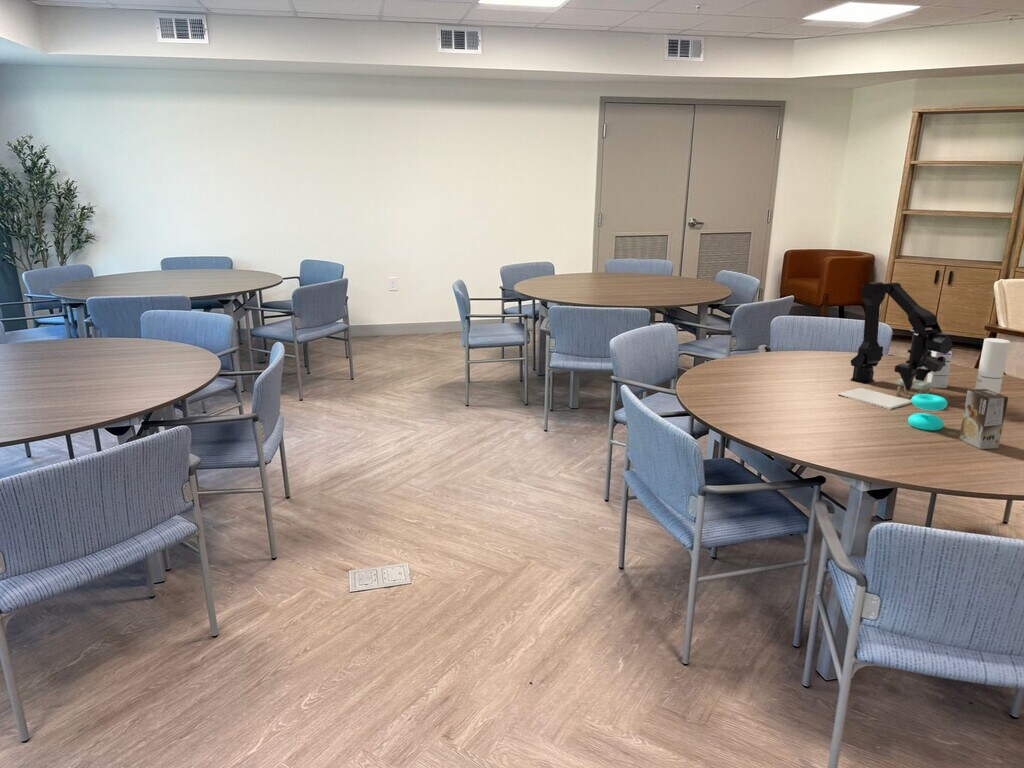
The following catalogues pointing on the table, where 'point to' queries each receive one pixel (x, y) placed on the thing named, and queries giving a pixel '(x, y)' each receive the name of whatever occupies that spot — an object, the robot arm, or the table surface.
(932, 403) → the donuts
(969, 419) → the coffee box
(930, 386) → the stool
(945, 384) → the syrup box
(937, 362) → the robot arm
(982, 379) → the cylindrical container
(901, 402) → the white rectangular board
